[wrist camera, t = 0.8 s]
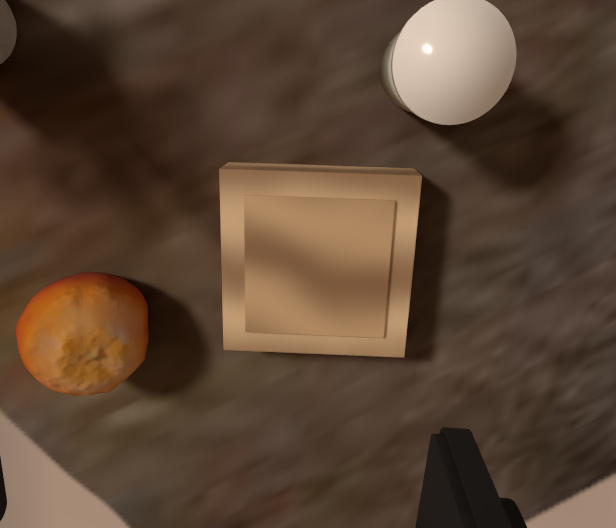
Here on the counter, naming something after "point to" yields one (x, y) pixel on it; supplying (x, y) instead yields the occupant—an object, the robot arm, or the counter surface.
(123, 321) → the fruit
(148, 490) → the counter surface
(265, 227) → the base
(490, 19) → the canister
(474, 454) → the robot arm
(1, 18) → the house plant
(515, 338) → the counter surface
